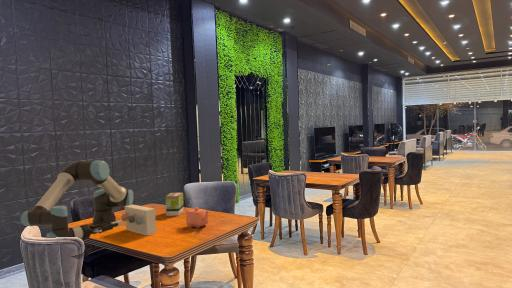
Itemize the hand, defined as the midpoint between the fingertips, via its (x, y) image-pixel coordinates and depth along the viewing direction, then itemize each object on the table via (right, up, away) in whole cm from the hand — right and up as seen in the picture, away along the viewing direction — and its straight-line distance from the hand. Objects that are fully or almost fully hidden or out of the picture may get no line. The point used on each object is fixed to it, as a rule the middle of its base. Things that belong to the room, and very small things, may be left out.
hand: (122, 222), depth 205 cm
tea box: (+16, -7, +63) cm, 66 cm away
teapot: (+40, -8, +24) cm, 47 cm away
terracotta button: (-5, -3, +19) cm, 20 cm away
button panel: (+5, -9, +18) cm, 21 cm away
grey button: (+1, -3, +14) cm, 14 cm away
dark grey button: (+7, -3, +9) cm, 11 cm away
